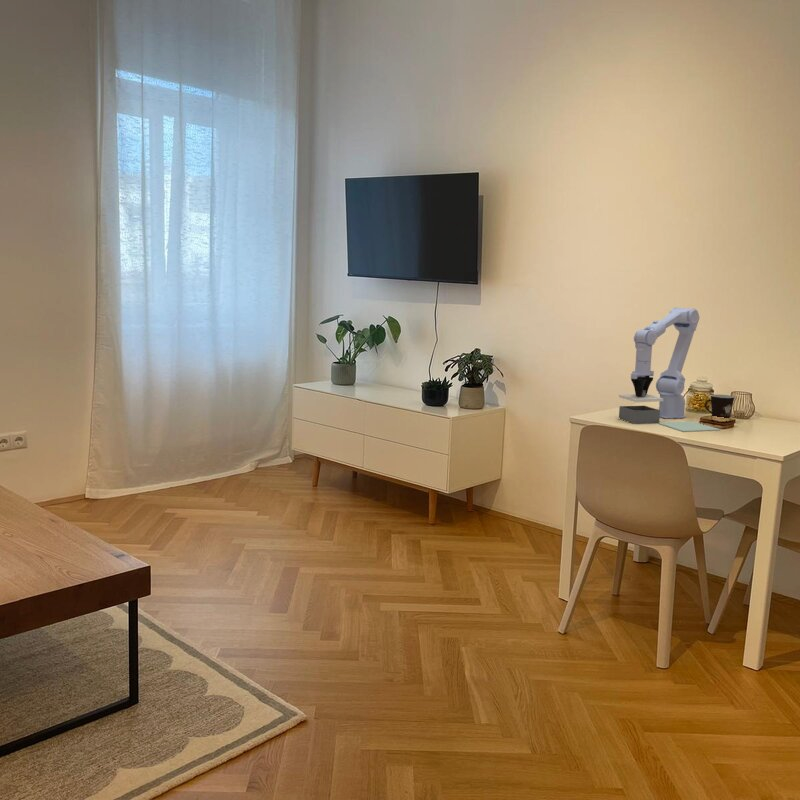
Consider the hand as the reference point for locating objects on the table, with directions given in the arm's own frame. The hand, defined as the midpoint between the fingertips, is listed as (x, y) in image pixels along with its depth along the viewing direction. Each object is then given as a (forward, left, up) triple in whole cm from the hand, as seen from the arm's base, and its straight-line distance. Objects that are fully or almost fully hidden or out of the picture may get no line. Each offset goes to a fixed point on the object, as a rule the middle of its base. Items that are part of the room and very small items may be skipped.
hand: (641, 395), depth 324 cm
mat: (-12, +15, -10) cm, 21 cm away
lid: (0, 0, -1) cm, 1 cm away
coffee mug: (-31, +6, -10) cm, 33 cm away
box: (0, 0, -10) cm, 10 cm away
